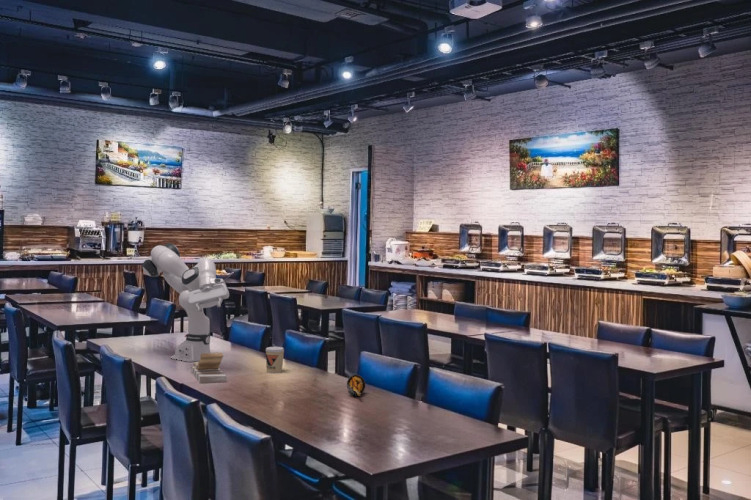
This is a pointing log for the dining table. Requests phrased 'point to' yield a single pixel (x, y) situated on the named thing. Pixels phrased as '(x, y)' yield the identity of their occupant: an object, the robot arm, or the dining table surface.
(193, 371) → the floor base
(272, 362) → the coffee cup
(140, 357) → the dining table surface
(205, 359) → the plank
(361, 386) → the fried shrimp in bowl
